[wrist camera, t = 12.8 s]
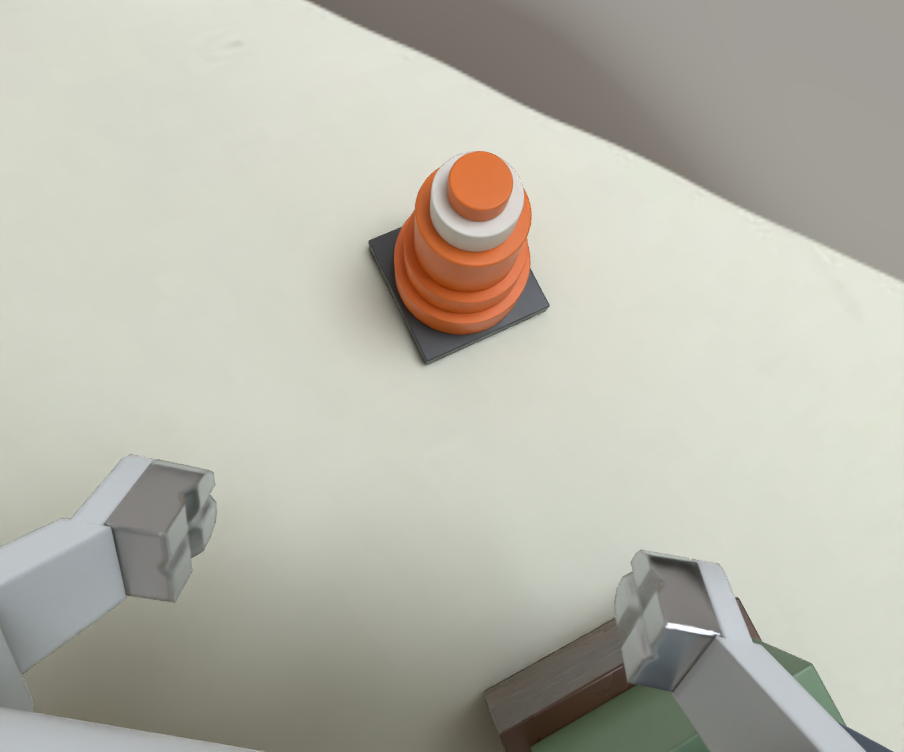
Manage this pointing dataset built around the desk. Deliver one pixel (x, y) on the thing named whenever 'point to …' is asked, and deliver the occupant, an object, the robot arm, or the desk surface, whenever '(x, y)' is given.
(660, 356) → the desk surface
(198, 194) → the desk surface
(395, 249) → the cone
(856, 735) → the slate block
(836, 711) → the green block
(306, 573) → the desk surface
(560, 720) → the bottom block
